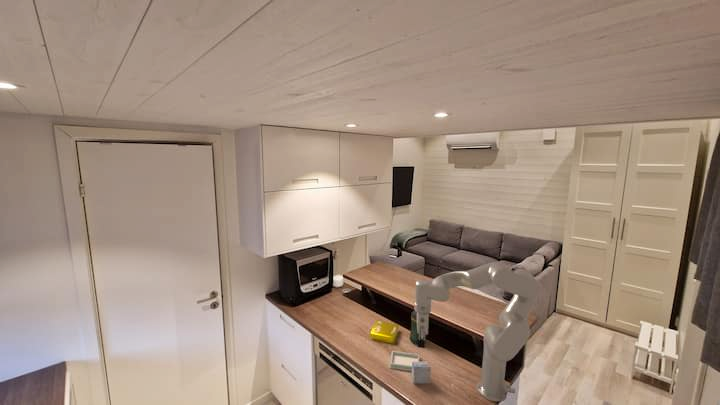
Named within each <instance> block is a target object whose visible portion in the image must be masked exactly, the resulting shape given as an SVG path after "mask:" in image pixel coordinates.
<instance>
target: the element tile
mask: <svg viewBox="0 0 720 405" xmlns="http://www.w3.org/2000/svg"><path fill="white" fill-rule="evenodd" d="M399 330H400V326H399V325H398V324H396V323H391V322H387V321H382V320H376V321H375V322H374V324H373V325H372V328H371V330H370V332H369V334H370V336H369V337H370V339H371V340H373V341H378V342H382V343H387V344H390V345H392V344H393V345H394V344H395V343H396V341H397V338H398V335H399V333H398V332H400V331H399Z"/></svg>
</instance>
